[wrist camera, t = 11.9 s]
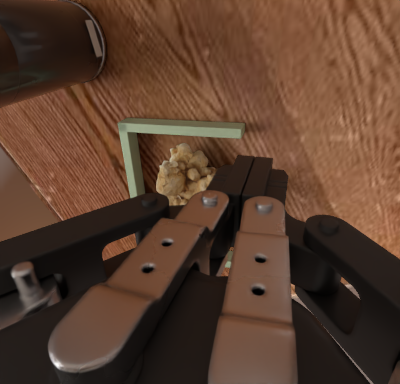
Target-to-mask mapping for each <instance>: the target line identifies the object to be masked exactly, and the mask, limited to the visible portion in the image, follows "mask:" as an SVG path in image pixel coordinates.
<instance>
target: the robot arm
mask: <svg viewBox="0 0 400 384" xmlns="http://www.w3.org/2000/svg"><path fill="white" fill-rule="evenodd" d="M106 57H107V45H106V40H105V36H104V33H103V30H102V28H101V26H100V24H99V22H98V21H97V19H96V18H95V16H94V15H93V14H92V13H91V12H90V11H89V10H88V9H87V8H86V7H84V6H83V5H81V4H79V3H77V2H74V1H70V0H58V1H51V0H0V108H1V107H4V106H7V105H11V104H14V103H17V102H20V101H24V100H27V99H30V98H33V97H36V96H40V95H43V94H46V93H49V92H53V91H56V90H59V89H62V88H66V87H69V86H72V85H76V84H79V83H85V82H88V81H91V80H93V79H95V78H96V77H97V76H98V75H99V74H100V73H101V71H102V70H103V68H104V65H105V62H106ZM272 164H273V158H266V157H254V156H242V155H238V156H237V158H236V160H235V162H234V164H233V165H224V166H222V167H220V168H218V169H217V171H216V173H215V175H214V176H213V178H212V180H211V181H210V183H209V185H208V187H207V188H206V190H205V191H200V192H197V193H195V194H194V195H193V196H192V197H191V198H190V200H189V201H188V202H187V203H186V204H185V205H172V206H169V199H168V197H167V196H165V195H163V194H160V193H146V194H142V195H139V196H136V197H133V198H130V199H127V200H124V201H121V202H118V203H115V204H112V205H109V206H106V207H103V208H100V209H97V210H94V211H91V212H88V213H85V214H82V215H79V216H76V217H73V218H70V219H67V220H64V221H61V222H58V223H55V224H52V225H49V226H46V227H43V228H40V229H37V230H34V231H31V232H28V233H25V234H22V235H19V236H16V237H13V238H11V239H7V240H4V241H1V242H0V384H370V383H369V382H368V380H367V379H366V378H365V377H364V375H363V374H362V373H361V372H360V370H359V369H358V368H357V367H356V366H355V365H354V363H353V362H352V361H351V360H350V359H349V357H348V356H347V355H346V354H345V352H344V351H343V350H342V348H343V349H344V350H345V351H346V352H347V353H348V355H349V356H350V357H351V358H352V359H353V360H354V362H355V363H356V364H357V365H358V366H359V367H360V368H361V370H363V372H364V373H365V374H366V375H367V376H368V378H369V379H370V380H371V381H372V382H373V383H374V384H400V259H398V258H397V257H396V256H394V255H393V254H391V253H390V252H388V251H387V250H386V249H384V248H383V247H381V246H380V245H378V244H377V243H376V242H374V241H373V240H371V239H370V238H368V237H367V236H366V235H364V234H363V233H361V232H360V231H358V230H357V229H356V228H354V227H353V226H351V225H350V224H348V223H347V222H345V221H344V220H342V219H340V218H337V217H334V216H329V215H315V216H312V217H310V218H308V219H307V220H306V223H305V222H302V221H299V220H297V219H295V218H293V217H291V216H290V215H289V214H288V213H287V212H286V210H285V200H286V191H287V183H288V175H287V174H286V172H285V171H284V170H276V169H272ZM134 233H135V236H136V243H137V246H136V248H133V249H131V250H128V251H126V252H124V253H121V254H119V255H117V256H114V257H112V258H109V259H107V260H105V261H103V258H102V251H103V249H104V247H105V246H106V245H107V244H109V243H111V242H113V241H116V240H118V239H121V238H123V237H126V236H128V235H131V234H134ZM230 247H234V249H233V254H232V260H231V265H230V270H229V275H228V276H221V274H222V272H223V270H224V268H225V265H226V263H227V259H228V252H229V249H230ZM341 277H343V278H344V279H345V280H346V281H347V282H348V283H350V284H351V285H352V286H353V287H354V288H355V289H356V291H357V292H358V294H359V297H360V299H359V298H358V297H357V296H356V295H354V294H353V293H352V292H351V291H350V290H349V289H348V288H347V287H346V286H345V285H344V284H343V283H341V282H340V281H341ZM291 284H293V285H295V292H296V294H297V296H298V297H299V298H300V300H301V301H302V302H303V303H304V304H305V305H306V307H307V308H308V309H309V310H310V311H311V312H312V313H313V314H312V313H311V312H310V311H309V310H308V309H306V308H305V307H304V306H302V305H301V304H300V303H298V302H296V301H295V300H294V299H292V298H291ZM319 321H320V322H319ZM323 326H324V327H325V328H326V329H327V330H326V329H325V328H324V327H323ZM328 332H329V333H330V334H331V335H332V336H333V337H334V339H335V340H336V341H337V342H338V343H339V344H340V345H341V347H342V348H341V347H340V346H339V345H338V344H337V343H336V341H335V340H334V339H333V338H332V336H331V335H330V334H329V333H328Z"/></svg>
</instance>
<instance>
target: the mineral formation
mask: <svg viewBox="0 0 400 384" xmlns="http://www.w3.org/2000/svg"><path fill="white" fill-rule="evenodd" d="M176 147H177V148H171V149H170V152H171V155H172V156H171V158H170V161H164V162H163V164H162V165H159V166H160V172H159V173H158V179H157V184H156V190H157V191H158V192H159V193H160V194H163V195H165V196H167V197H168V199H169V206H172V205H185V204H186V203H187V202H188V201H189V200H190V198H191V197H192V196H193V195H194V194H195V193H197V192H200V191H205V190H206V188H207V187H208V185H209V183H210V181H211V180H212V178H213V176H214V175H215V173H216V171H217V169H215V168H214V167H207V165H208V159H207V157H206V156H205V155H204V153H203V152H202V151H199V150H197V151H196V152H192V151H191V149H190V146H189V145H188V144H186V143H182V144H179V145H176Z"/></svg>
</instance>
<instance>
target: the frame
mask: <svg viewBox="0 0 400 384" xmlns="http://www.w3.org/2000/svg"><path fill="white" fill-rule="evenodd" d="M118 127H119V133H120V139H121V145H122V151H123V157H124V162H125V168H126V174H127V180H128V186H129V192H130V198H133V197H136V196H139V195H142V194H145V187H144V180H143V173H142V166H141V159H140V152H139V146H138V139H137V133H152V134H169V135H186V136H203V137H220V138H237V139H241V138H242V136H243V134H244V132H245V123H232V122H210V121H188V120H166V119H144V118H126V119H124V120H122V121H120V122H119V123H118ZM232 254H233V251H229V252H228V259H227V263H226V265H225V267H229V268H230V265H231V260H232Z"/></svg>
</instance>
